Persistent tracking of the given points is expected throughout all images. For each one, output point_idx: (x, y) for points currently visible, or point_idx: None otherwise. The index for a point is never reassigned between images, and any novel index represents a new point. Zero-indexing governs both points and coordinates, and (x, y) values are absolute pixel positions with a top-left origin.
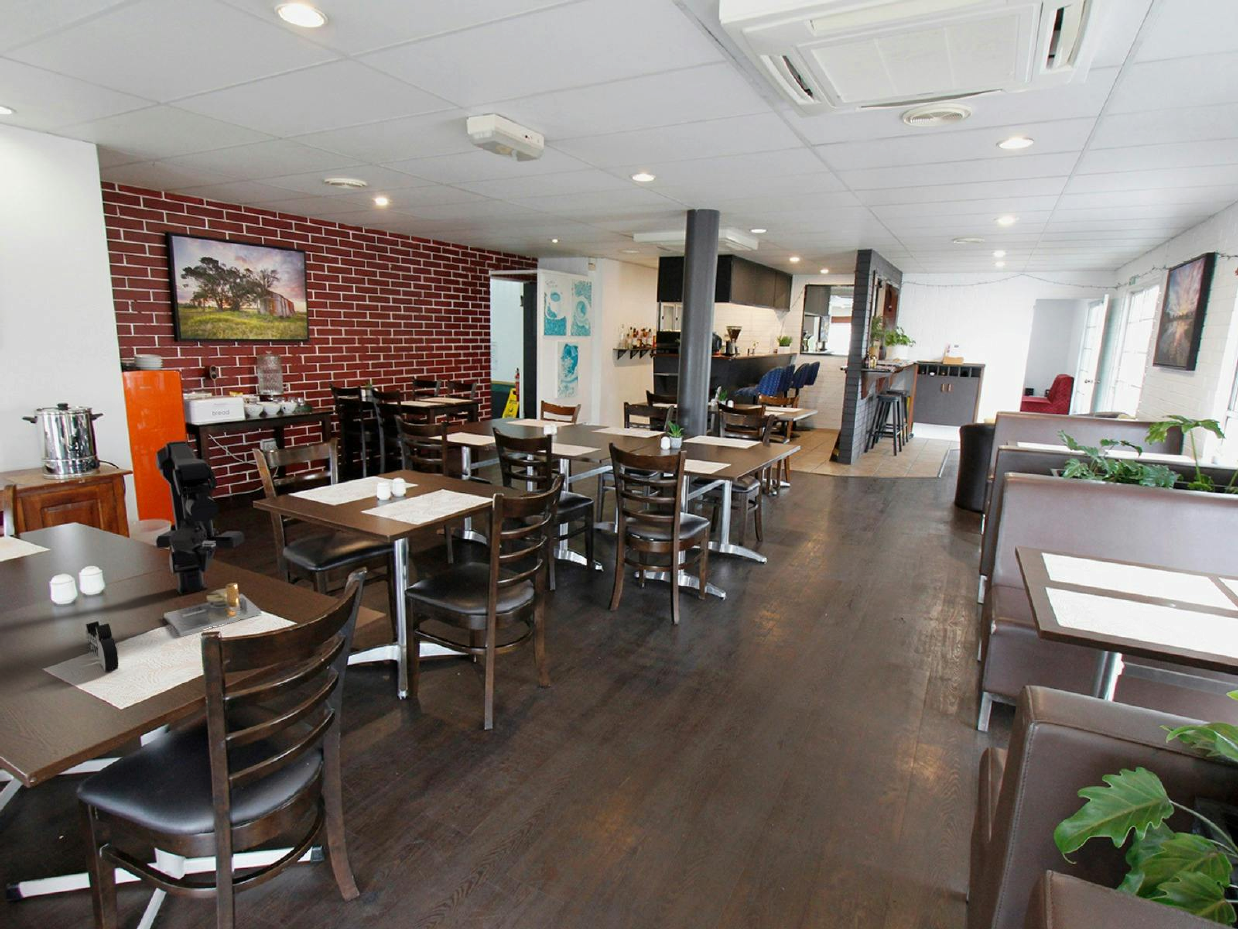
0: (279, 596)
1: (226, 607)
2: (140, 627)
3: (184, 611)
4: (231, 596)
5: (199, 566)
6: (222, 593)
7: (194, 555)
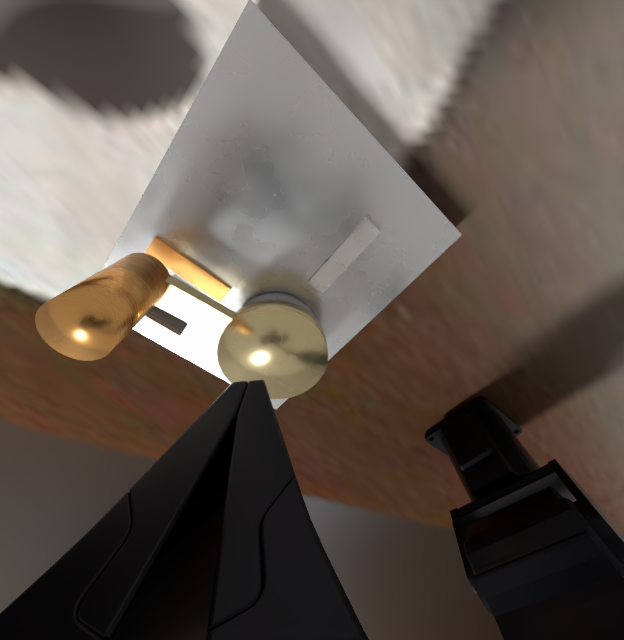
0: (169, 418)
1: (240, 308)
2: (511, 124)
3: (386, 261)
4: (93, 275)
5: (258, 417)
6: (265, 357)
7: (265, 603)
